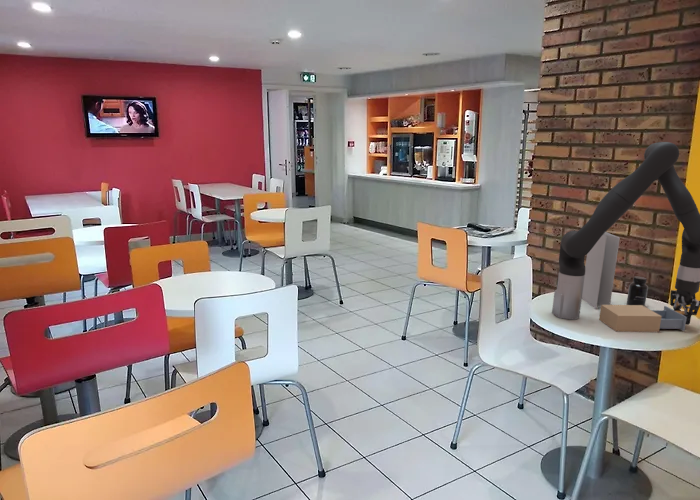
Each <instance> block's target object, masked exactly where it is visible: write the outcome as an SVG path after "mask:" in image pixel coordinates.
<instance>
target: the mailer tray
mask: <svg viewBox="0 0 700 500" xmlns="http://www.w3.org/2000/svg"><path fill="white" fill-rule="evenodd" d="M650 310H651V309H650ZM651 311H653V312H655V313H657V314H659V315H660V316H662V317H661V323H660V329H666V330H667V329H668V330H669V329H672V330H673V329H678V330H680V331H682V332H685V330H686V319H687V317H686V316H684V310H681V311H674V309H672V308H670V307H669V306H667V305H664V307H663V310H662V309H661V310H659V309H656V310H655V309H653V310H651Z"/></svg>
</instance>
